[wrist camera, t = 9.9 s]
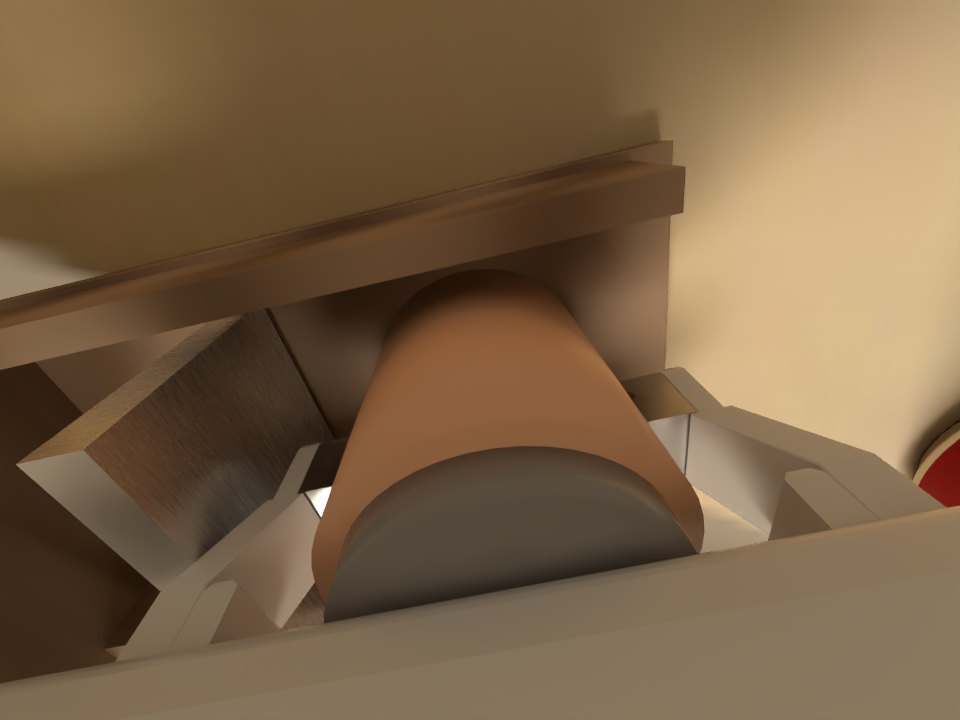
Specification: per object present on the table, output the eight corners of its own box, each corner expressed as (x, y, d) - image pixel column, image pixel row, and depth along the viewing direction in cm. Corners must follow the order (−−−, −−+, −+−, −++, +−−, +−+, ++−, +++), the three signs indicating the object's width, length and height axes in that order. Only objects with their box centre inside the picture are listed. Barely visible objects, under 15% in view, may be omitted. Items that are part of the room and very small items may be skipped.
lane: (661, 140, 9) (977, 140, 4) (654, 440, 14) (786, 637, 9) (-20, 305, 10) (-593, 503, 5) (193, 532, 15) (39, 764, 10)
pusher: (260, 301, 10) (83, 449, 5) (361, 489, 14) (311, 679, 9) (167, 323, 10) (-90, 487, 5) (291, 503, 14) (204, 698, 9)
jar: (582, 254, 10) (794, 432, 4) (581, 430, 13) (700, 695, 7) (357, 286, 10) (200, 513, 4) (406, 454, 13) (363, 739, 7)
